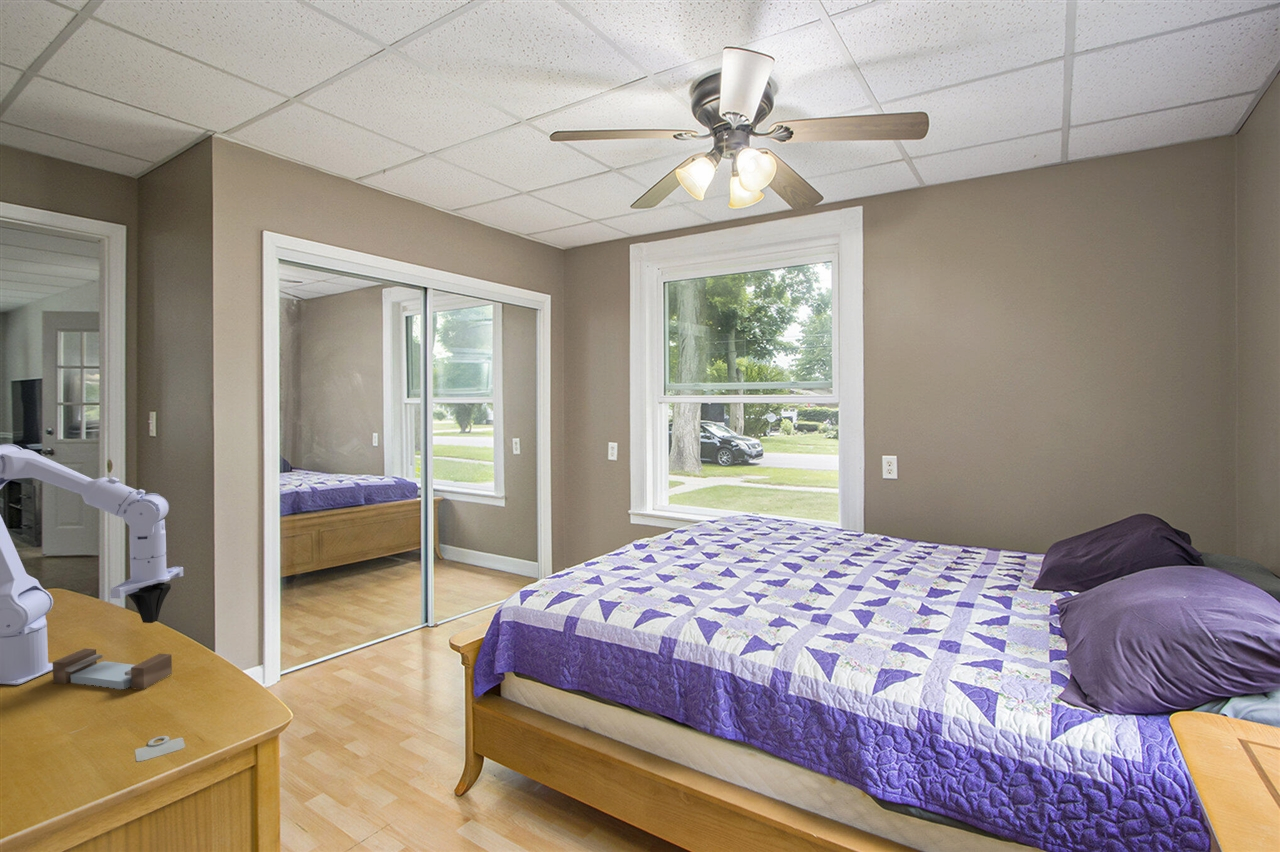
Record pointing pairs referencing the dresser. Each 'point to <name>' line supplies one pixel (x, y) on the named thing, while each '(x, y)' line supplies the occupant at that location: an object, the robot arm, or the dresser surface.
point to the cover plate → (104, 675)
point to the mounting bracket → (159, 748)
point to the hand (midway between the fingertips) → (150, 621)
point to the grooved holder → (139, 673)
